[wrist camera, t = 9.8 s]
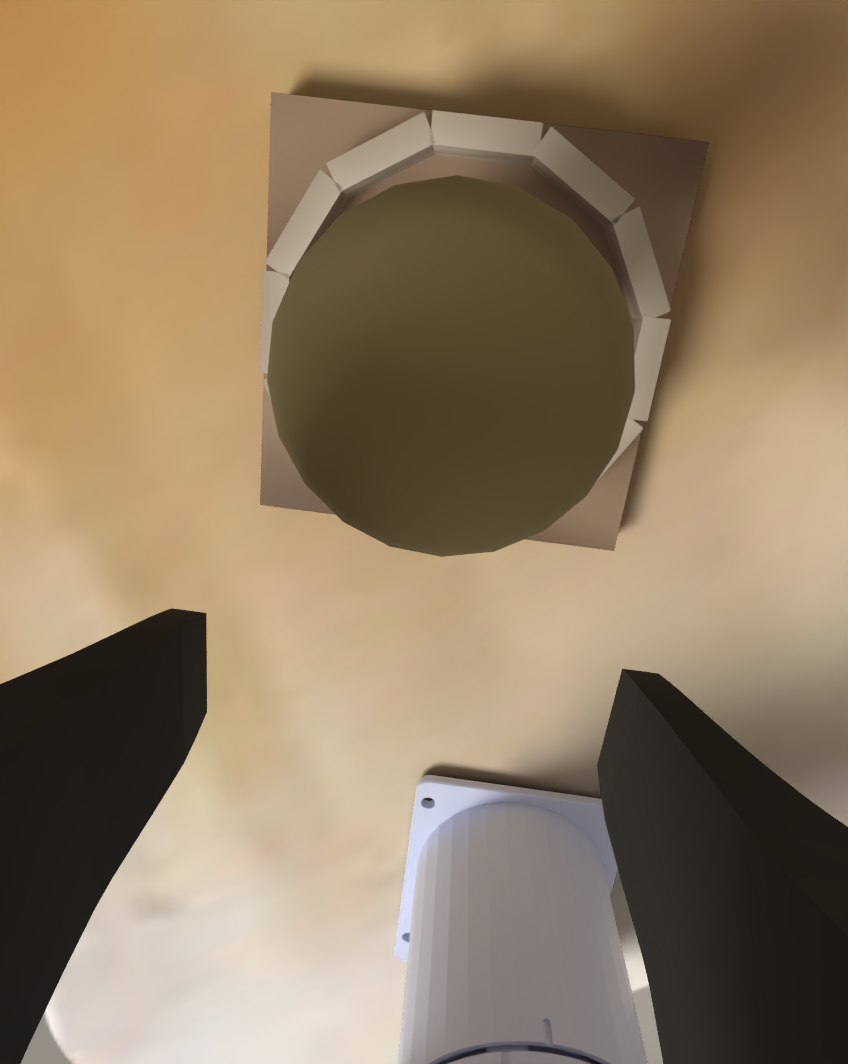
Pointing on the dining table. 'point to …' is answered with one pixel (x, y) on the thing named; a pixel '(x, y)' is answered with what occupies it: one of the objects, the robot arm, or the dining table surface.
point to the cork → (451, 366)
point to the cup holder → (502, 157)
